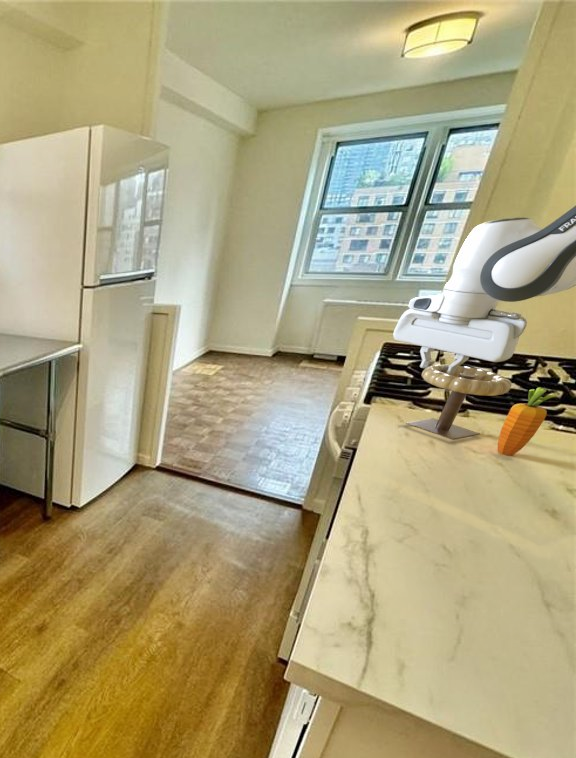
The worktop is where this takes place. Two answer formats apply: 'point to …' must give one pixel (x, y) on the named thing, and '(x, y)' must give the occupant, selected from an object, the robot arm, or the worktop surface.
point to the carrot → (522, 423)
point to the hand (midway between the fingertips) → (435, 370)
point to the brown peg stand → (448, 417)
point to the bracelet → (467, 381)
